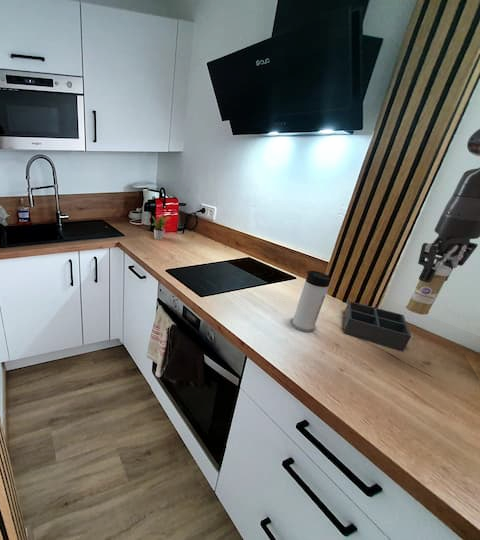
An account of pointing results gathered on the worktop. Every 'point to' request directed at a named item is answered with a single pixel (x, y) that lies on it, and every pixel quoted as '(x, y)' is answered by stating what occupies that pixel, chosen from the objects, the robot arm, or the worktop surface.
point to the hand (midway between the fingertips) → (432, 280)
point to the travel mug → (311, 301)
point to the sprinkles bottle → (428, 291)
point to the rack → (376, 325)
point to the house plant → (159, 227)
